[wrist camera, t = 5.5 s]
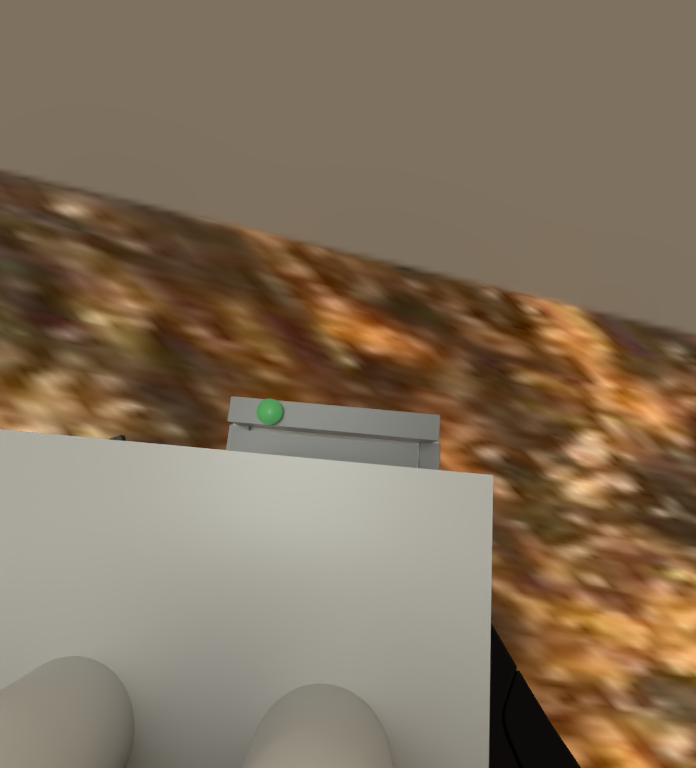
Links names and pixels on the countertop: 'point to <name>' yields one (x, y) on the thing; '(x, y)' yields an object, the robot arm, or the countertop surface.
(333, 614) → the plug
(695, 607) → the countertop surface
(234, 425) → the port
